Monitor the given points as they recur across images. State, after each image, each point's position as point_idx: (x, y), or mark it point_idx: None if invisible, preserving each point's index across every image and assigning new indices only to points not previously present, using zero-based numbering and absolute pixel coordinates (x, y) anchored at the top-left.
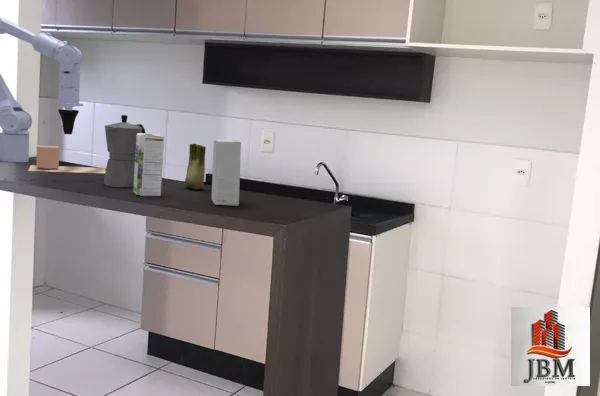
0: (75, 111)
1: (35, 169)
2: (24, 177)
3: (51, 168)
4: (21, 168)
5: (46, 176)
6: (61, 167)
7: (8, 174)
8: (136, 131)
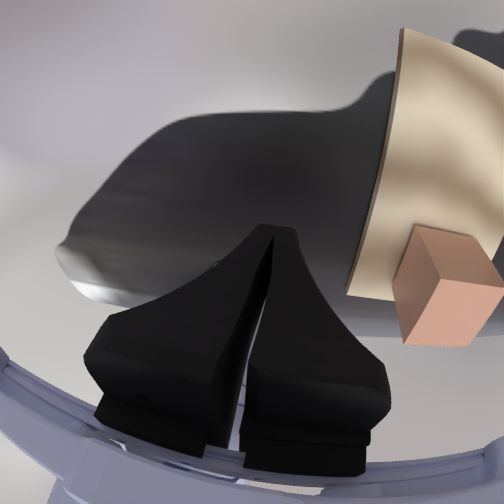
0: (337, 413)
1: None
2: (495, 308)
3: None
4: (339, 305)
5: (499, 265)
6: (411, 211)
7: None
8: None
